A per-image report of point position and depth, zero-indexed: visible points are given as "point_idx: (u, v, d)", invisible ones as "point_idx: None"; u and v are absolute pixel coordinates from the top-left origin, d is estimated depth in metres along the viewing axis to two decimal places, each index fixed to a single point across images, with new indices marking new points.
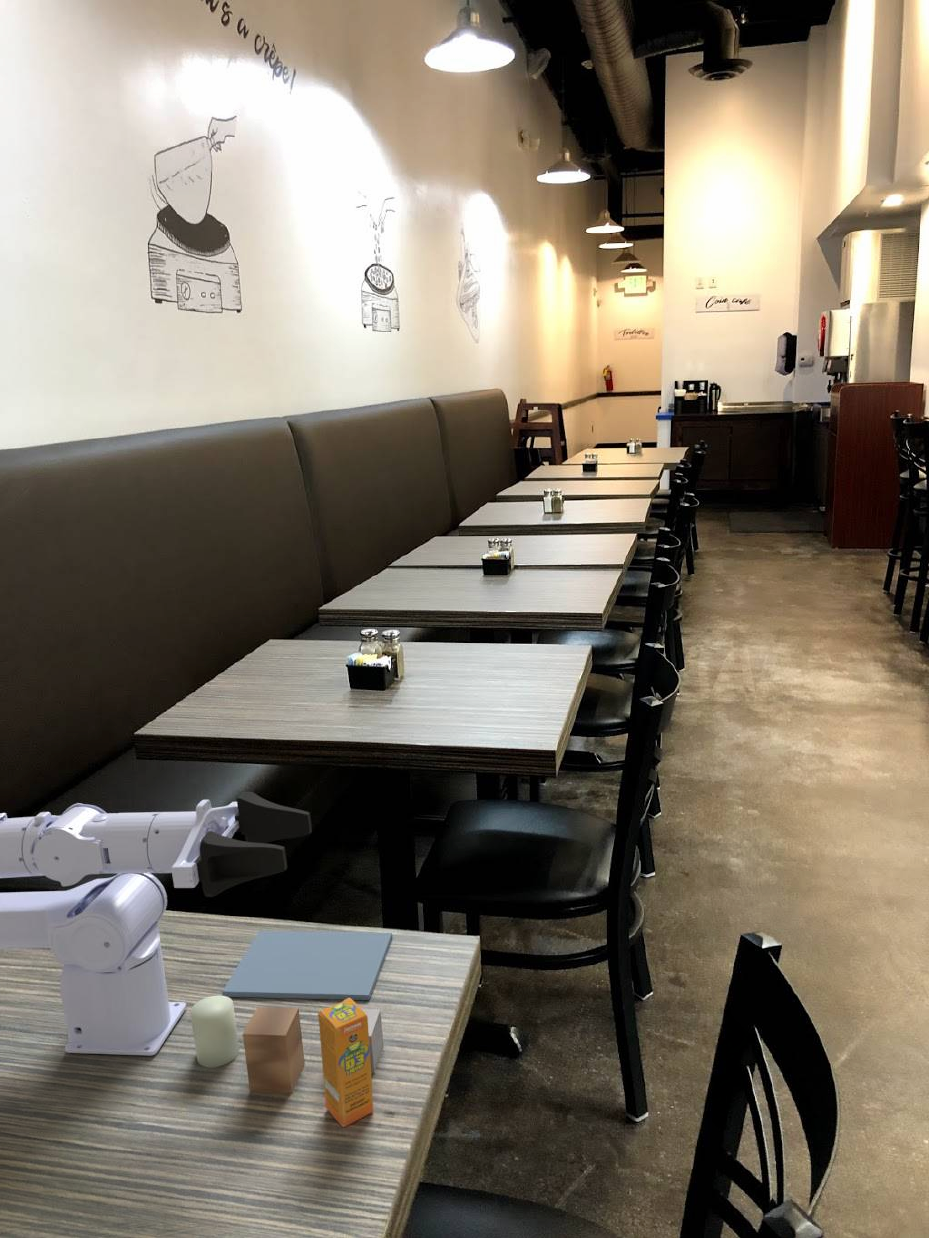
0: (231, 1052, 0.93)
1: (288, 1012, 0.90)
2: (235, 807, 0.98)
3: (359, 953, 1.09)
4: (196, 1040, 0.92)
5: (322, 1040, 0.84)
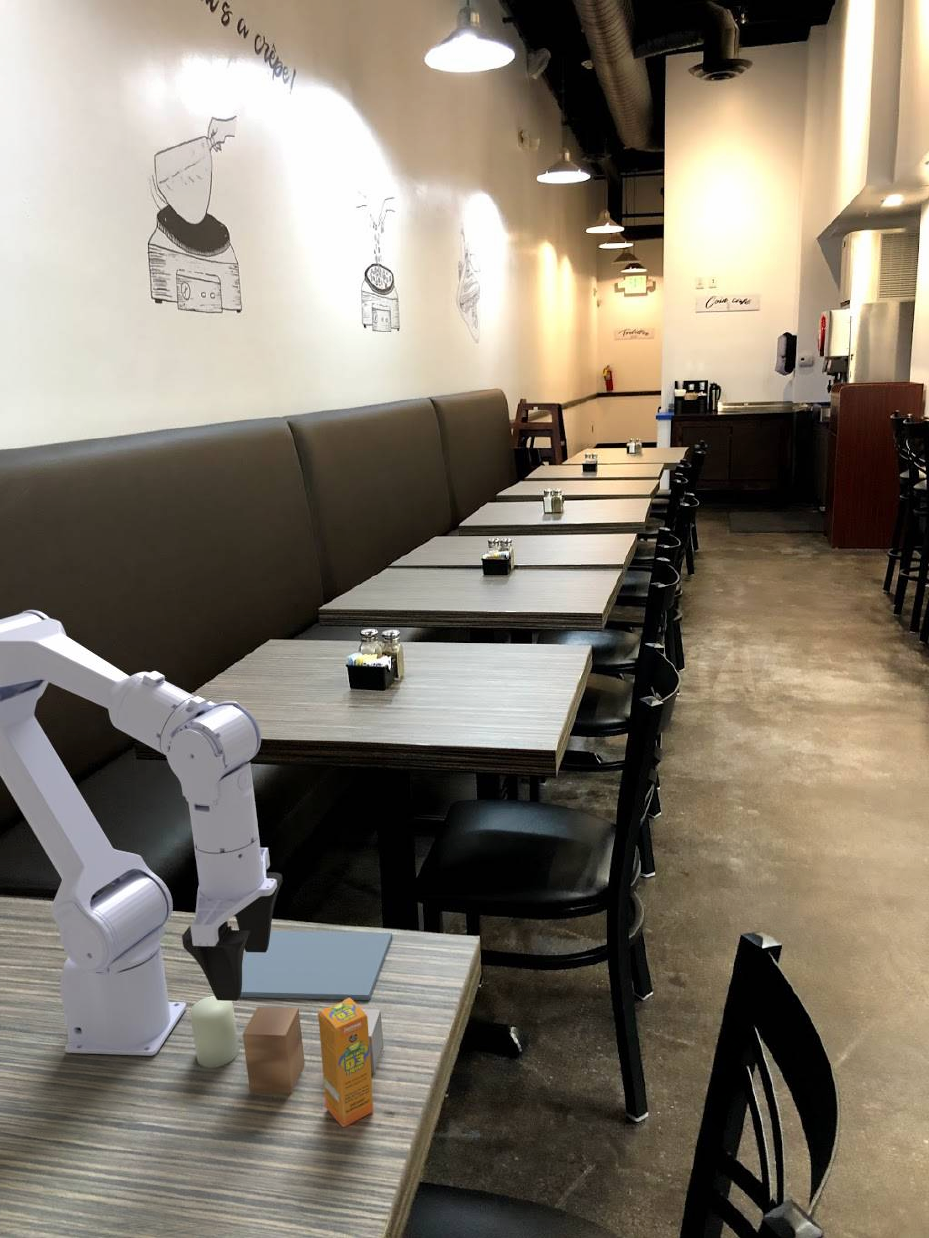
0: (231, 1051, 0.93)
1: (288, 1012, 0.90)
2: None
3: (359, 953, 1.09)
4: (196, 1040, 0.92)
5: (322, 1040, 0.84)
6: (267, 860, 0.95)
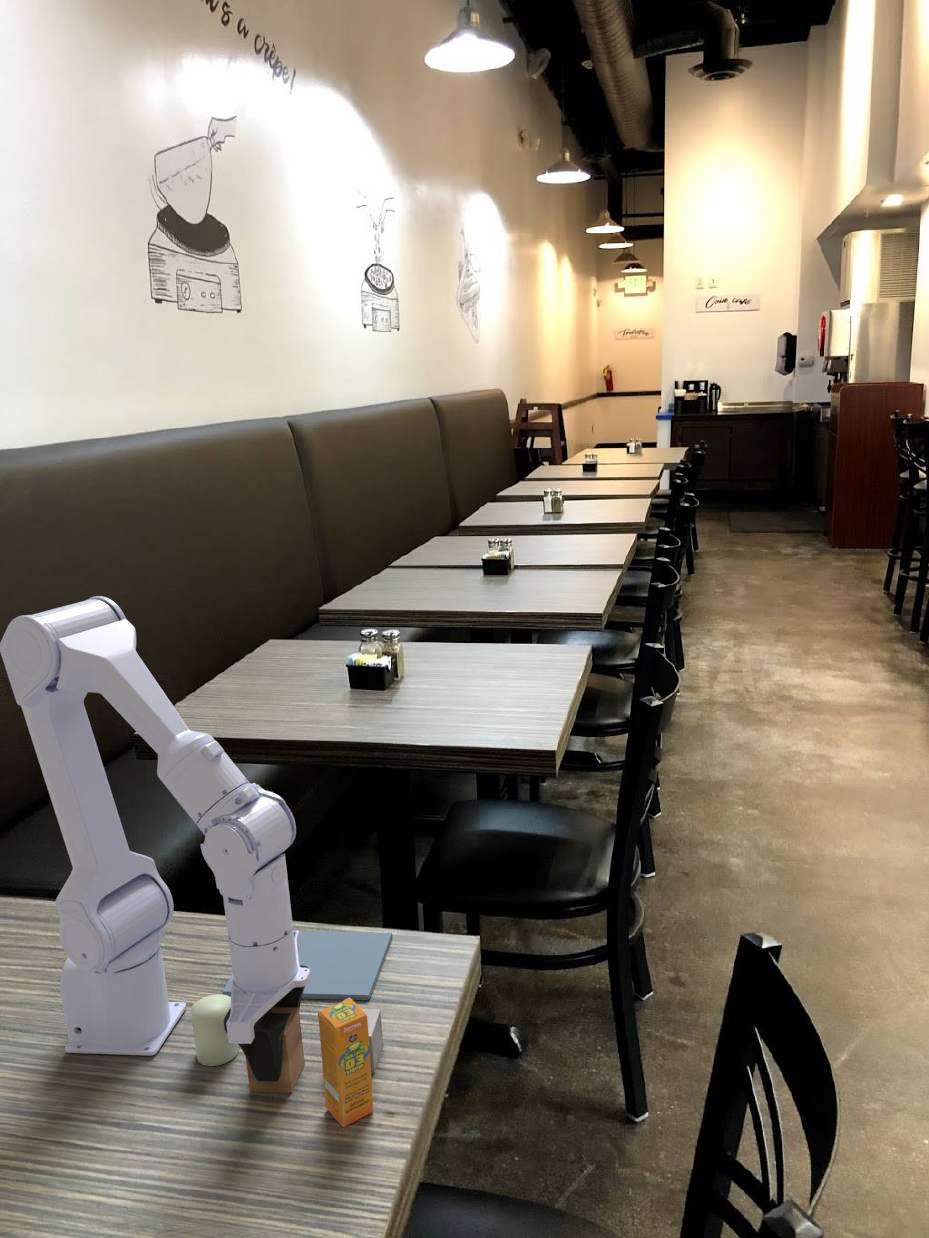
0: (232, 1049, 0.93)
1: (288, 1012, 0.90)
2: None
3: (359, 953, 1.09)
4: (197, 1039, 0.92)
5: (322, 1040, 0.84)
6: (298, 943, 0.95)
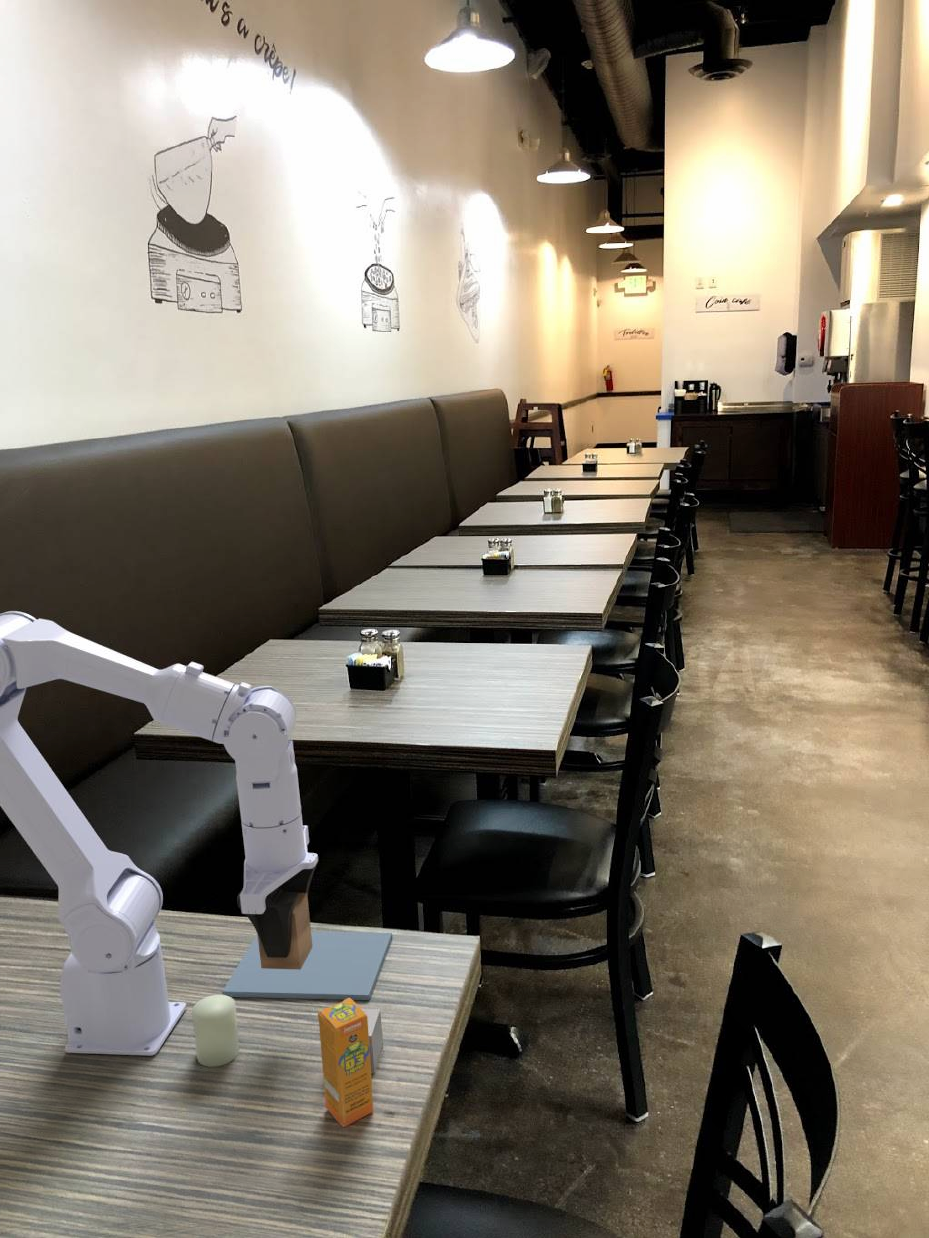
0: (235, 1048, 0.94)
1: None
2: None
3: (359, 953, 1.09)
4: (201, 1041, 0.92)
5: (322, 1040, 0.84)
6: (307, 837, 1.01)
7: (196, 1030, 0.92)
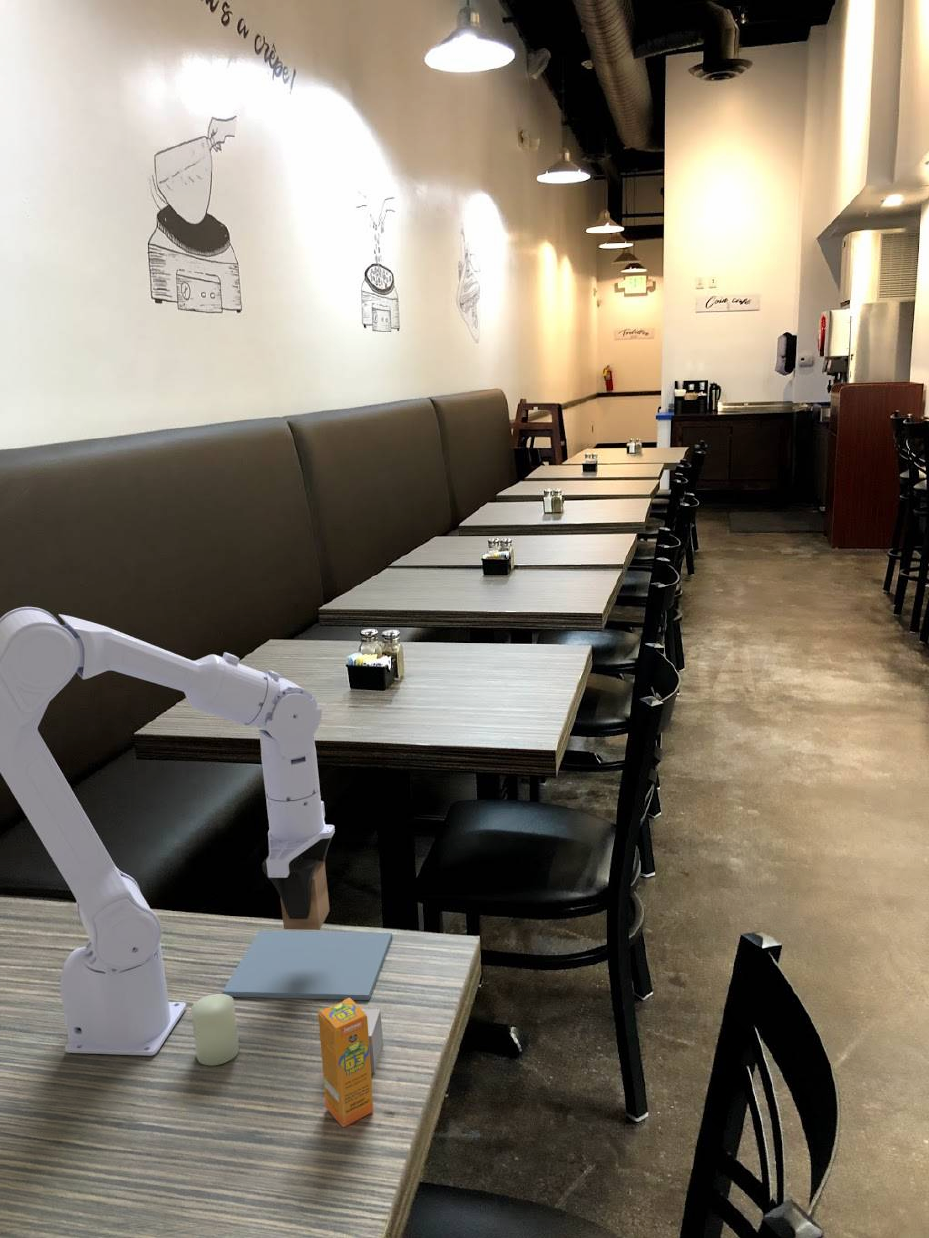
0: (236, 1045, 0.94)
1: None
2: None
3: (359, 953, 1.09)
4: (203, 1040, 0.92)
5: (322, 1040, 0.84)
6: (323, 812, 1.11)
7: (197, 1029, 0.92)
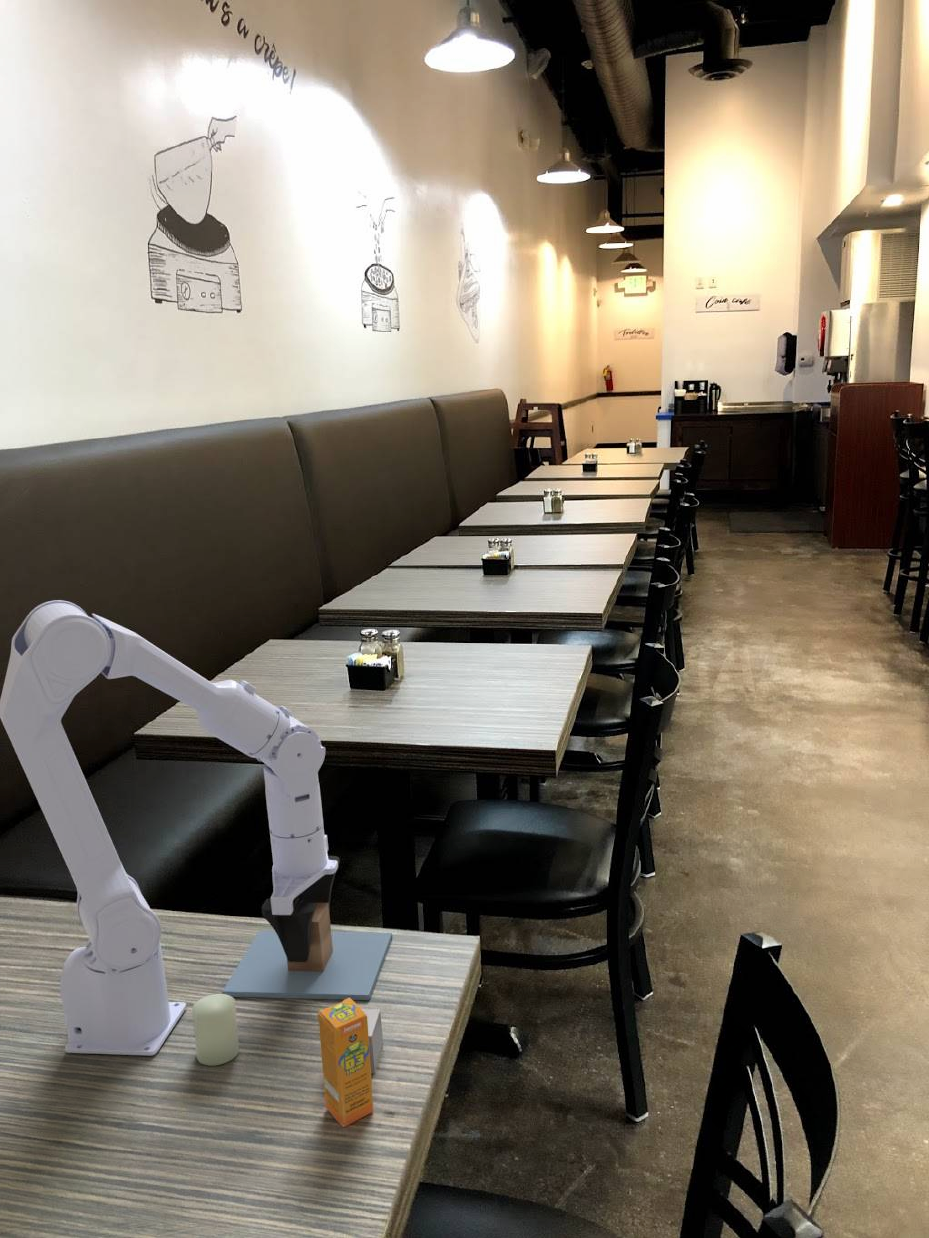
0: (237, 1043, 0.94)
1: (319, 906, 1.08)
2: None
3: (359, 953, 1.09)
4: (206, 1041, 0.92)
5: (322, 1040, 0.84)
6: (326, 845, 1.12)
7: (200, 1030, 0.92)
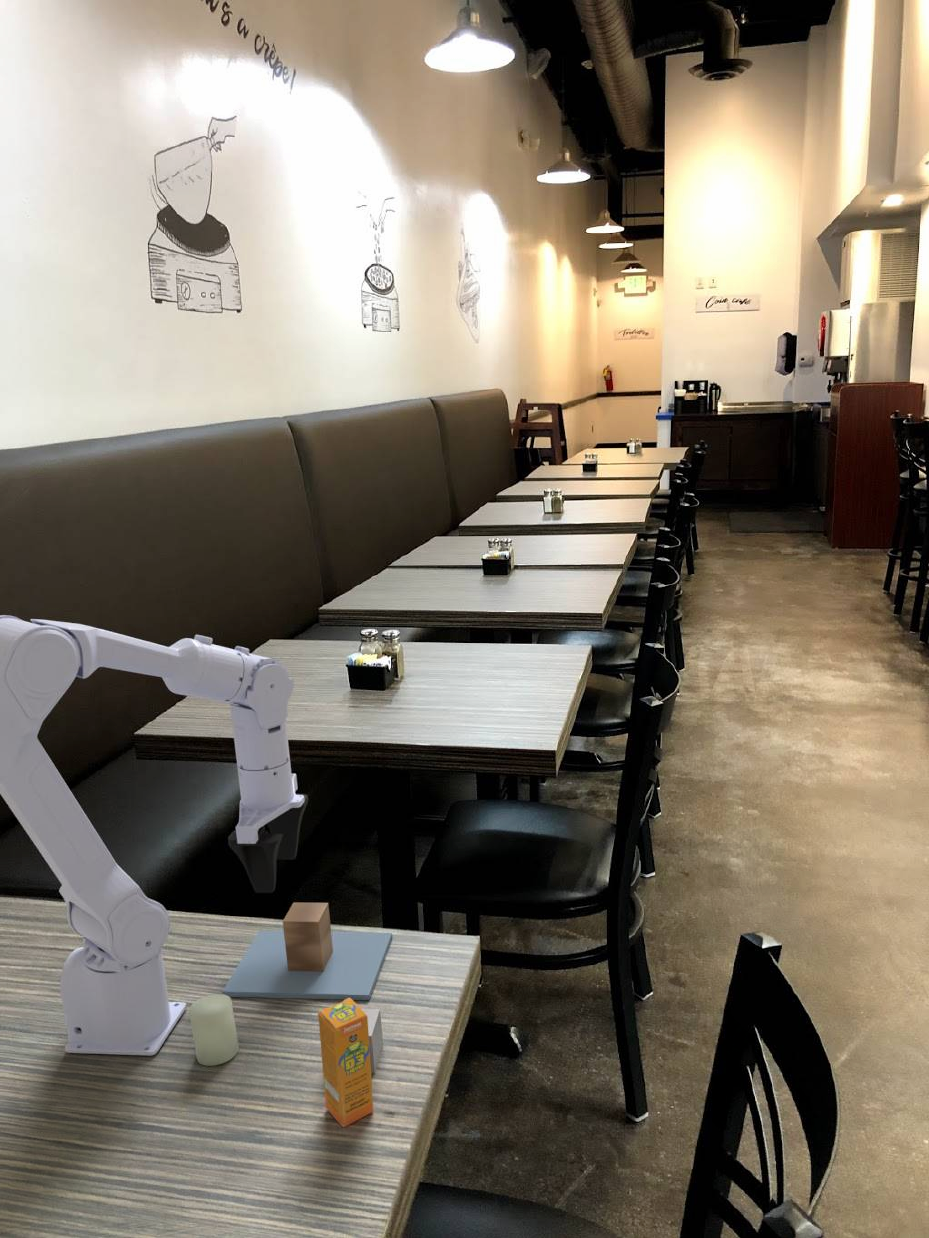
0: (237, 1040, 0.94)
1: (319, 906, 1.08)
2: None
3: (359, 953, 1.09)
4: (208, 1041, 0.92)
5: (322, 1040, 0.84)
6: (295, 784, 1.14)
7: (200, 1032, 0.92)
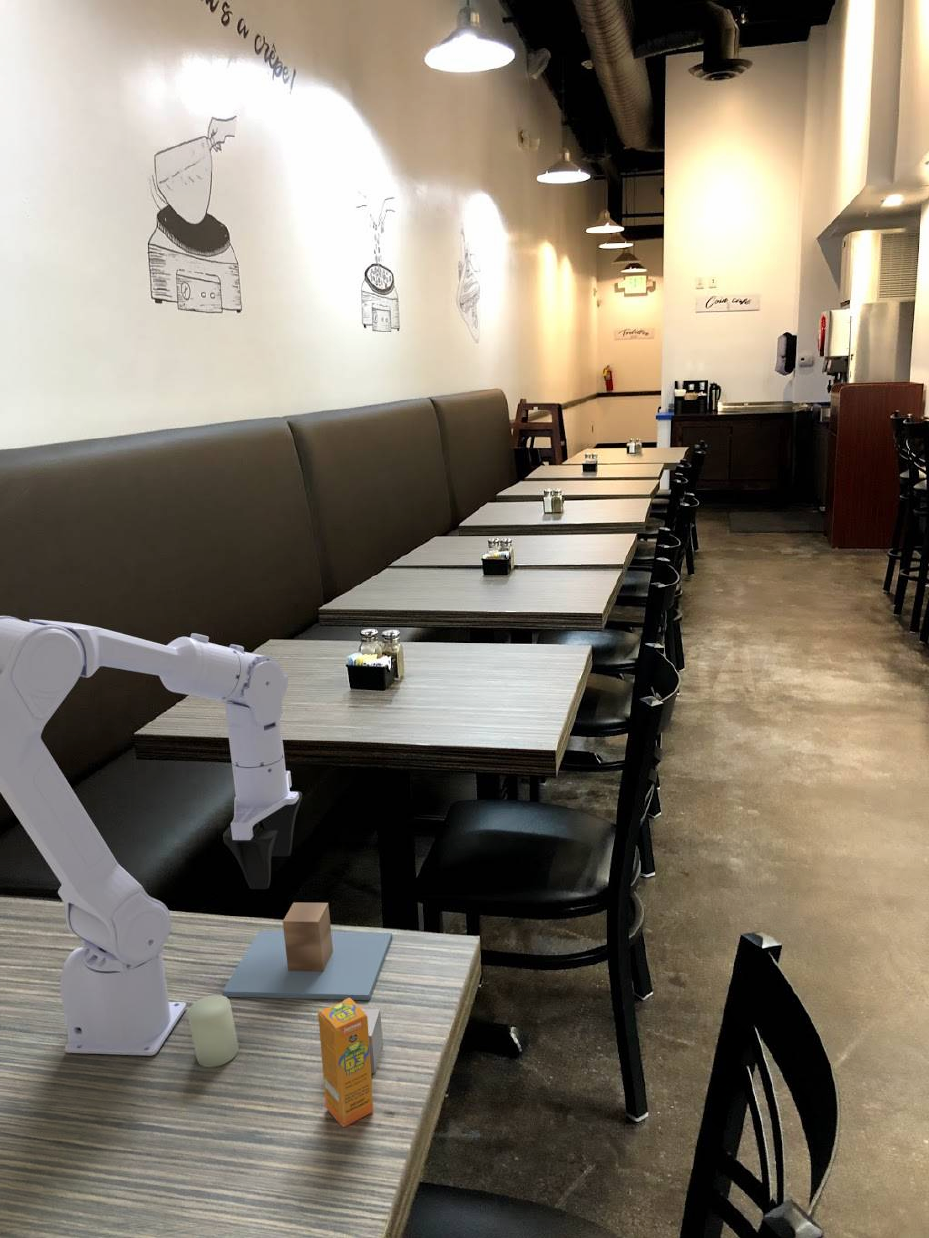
0: None
1: (319, 906, 1.08)
2: None
3: (359, 953, 1.09)
4: (210, 1043, 0.92)
5: (322, 1040, 0.84)
6: (289, 781, 1.15)
7: (202, 1035, 0.92)
